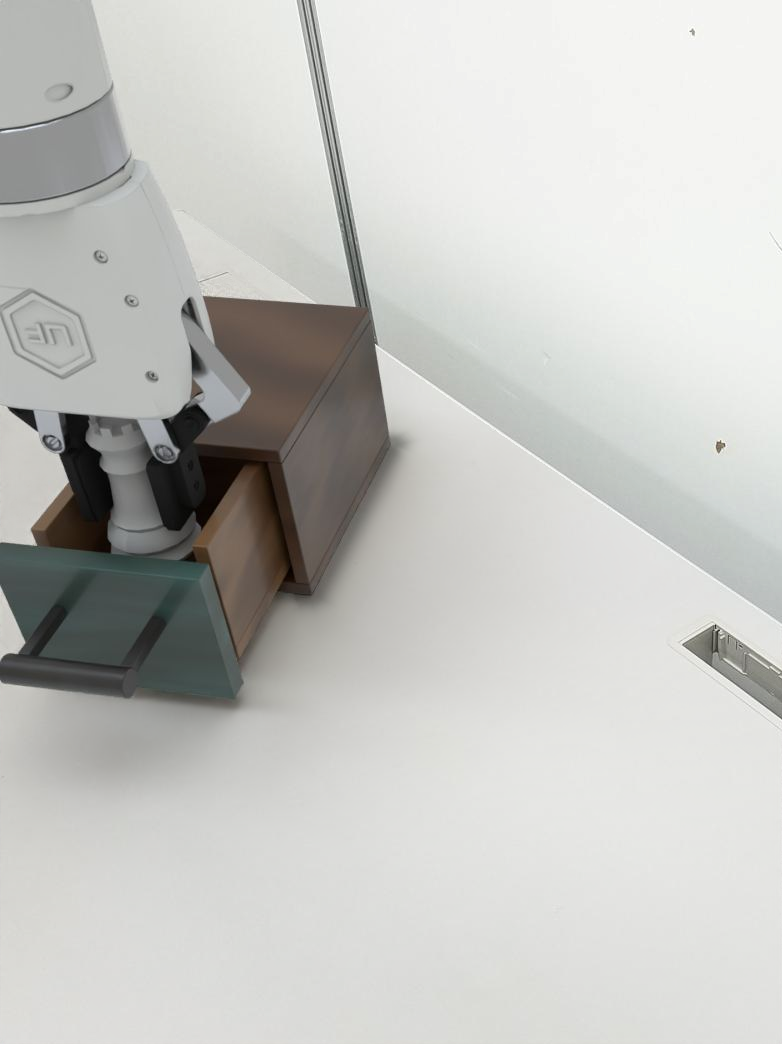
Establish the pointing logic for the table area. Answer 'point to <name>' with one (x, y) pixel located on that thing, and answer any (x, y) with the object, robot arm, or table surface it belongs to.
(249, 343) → the cabinet
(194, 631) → the drawer
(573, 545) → the table surface
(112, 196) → the robot arm
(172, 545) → the rook chess piece
